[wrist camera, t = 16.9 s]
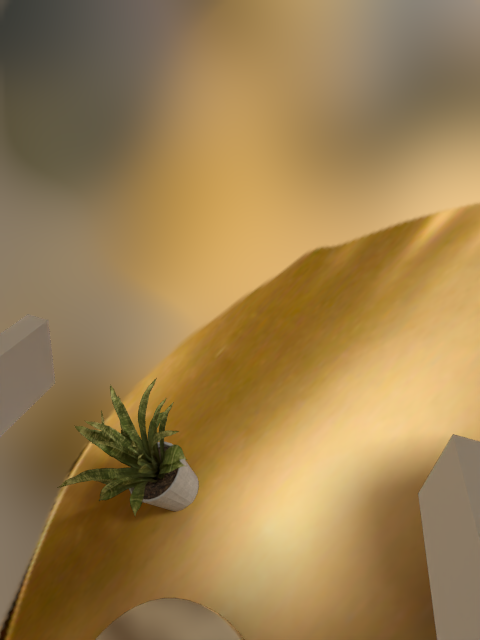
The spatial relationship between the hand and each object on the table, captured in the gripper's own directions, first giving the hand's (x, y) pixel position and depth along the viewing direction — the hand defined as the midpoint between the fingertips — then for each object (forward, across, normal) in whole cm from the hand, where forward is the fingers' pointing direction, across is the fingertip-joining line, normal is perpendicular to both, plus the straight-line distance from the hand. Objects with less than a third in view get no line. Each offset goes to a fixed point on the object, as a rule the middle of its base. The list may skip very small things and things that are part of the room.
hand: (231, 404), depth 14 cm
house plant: (+23, -7, -37) cm, 44 cm away
